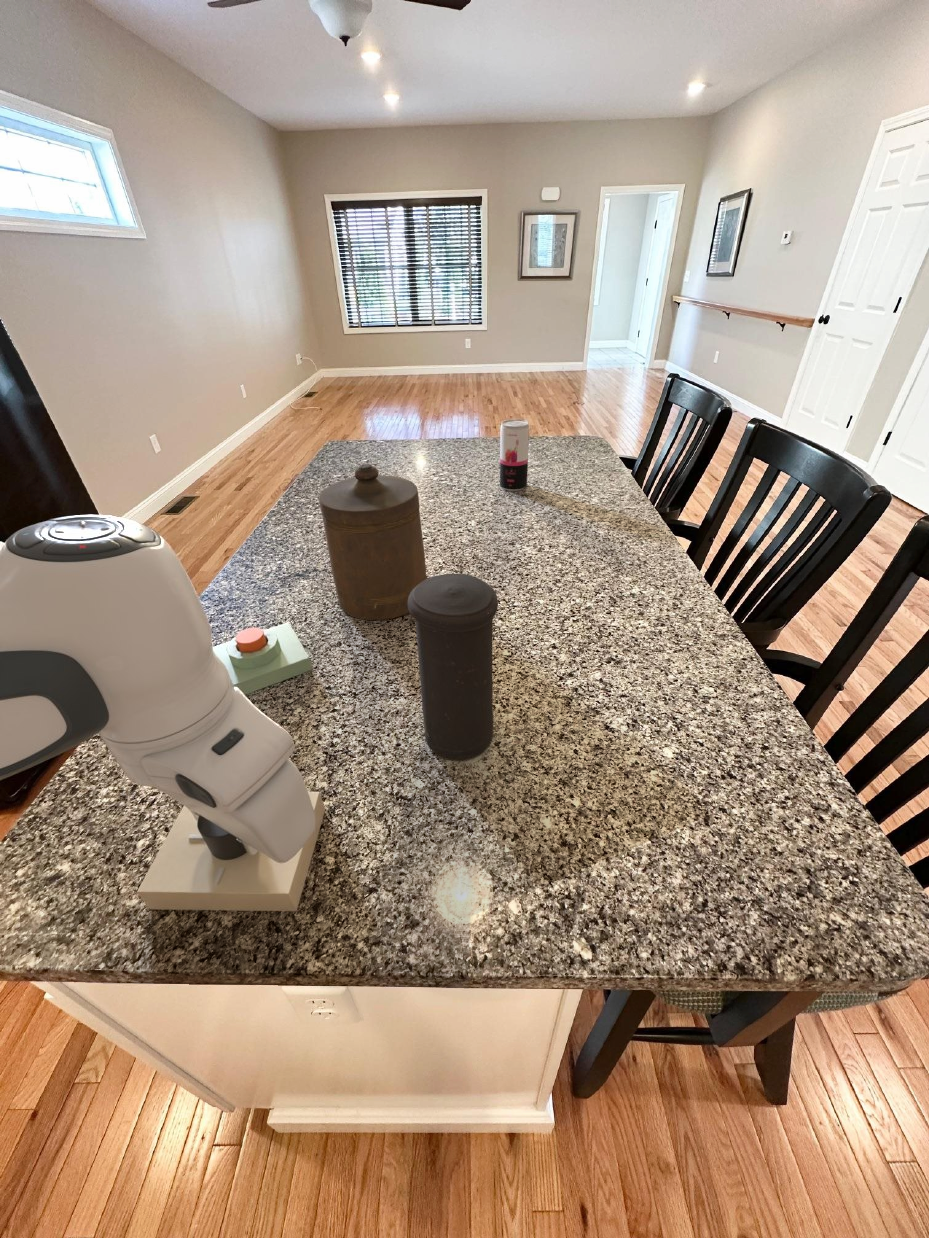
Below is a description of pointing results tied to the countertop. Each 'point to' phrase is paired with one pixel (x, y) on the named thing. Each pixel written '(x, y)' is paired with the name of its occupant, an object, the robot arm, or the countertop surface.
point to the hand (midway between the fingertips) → (232, 831)
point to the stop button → (251, 640)
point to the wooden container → (374, 542)
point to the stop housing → (265, 660)
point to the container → (455, 662)
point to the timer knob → (219, 840)
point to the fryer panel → (224, 873)
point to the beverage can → (514, 454)
